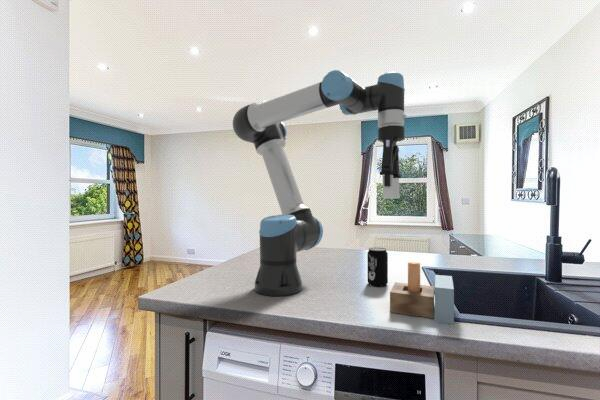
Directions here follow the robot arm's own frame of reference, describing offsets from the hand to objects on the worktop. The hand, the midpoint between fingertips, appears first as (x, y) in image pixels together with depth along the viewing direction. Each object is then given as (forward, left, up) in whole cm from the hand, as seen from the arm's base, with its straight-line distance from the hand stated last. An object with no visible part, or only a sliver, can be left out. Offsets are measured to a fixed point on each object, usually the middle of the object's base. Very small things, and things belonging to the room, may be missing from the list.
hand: (391, 198), depth 92 cm
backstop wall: (+14, -10, -29) cm, 33 cm away
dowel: (+7, -10, -29) cm, 31 cm away
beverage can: (-6, +10, -29) cm, 31 cm away
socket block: (+7, -10, -29) cm, 31 cm away
